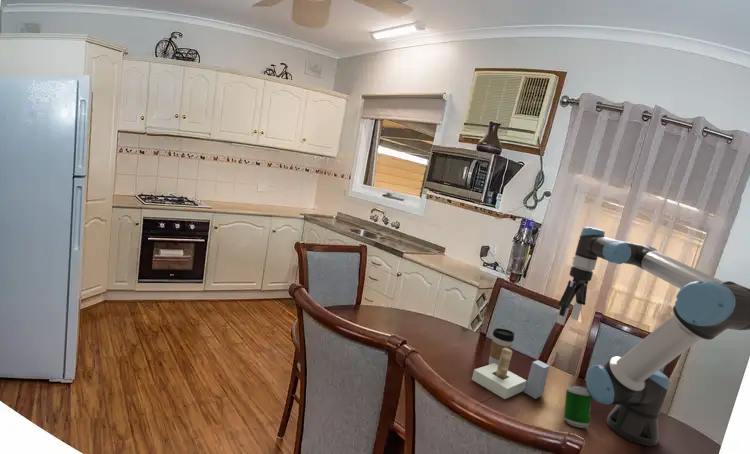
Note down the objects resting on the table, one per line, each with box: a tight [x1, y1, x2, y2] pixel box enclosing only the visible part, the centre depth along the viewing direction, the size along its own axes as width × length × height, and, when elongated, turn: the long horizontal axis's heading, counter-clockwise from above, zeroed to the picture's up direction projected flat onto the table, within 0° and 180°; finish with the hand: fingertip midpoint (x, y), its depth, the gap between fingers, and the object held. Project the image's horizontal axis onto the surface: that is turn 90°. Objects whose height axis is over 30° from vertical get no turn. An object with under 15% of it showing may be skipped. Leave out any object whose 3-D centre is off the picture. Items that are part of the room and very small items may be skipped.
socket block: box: [471, 363, 528, 400], centre depth 161 cm, size 14×14×4 cm
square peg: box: [523, 359, 551, 400], centre depth 159 cm, size 5×5×12 cm
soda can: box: [563, 384, 592, 429], centre depth 144 cm, size 8×8×12 cm
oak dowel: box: [496, 348, 513, 380], centre depth 160 cm, size 4×4×14 cm
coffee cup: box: [488, 327, 515, 365], centre depth 177 cm, size 8×8×15 cm
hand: (567, 321), depth 165 cm, fingers open, 13 cm apart
